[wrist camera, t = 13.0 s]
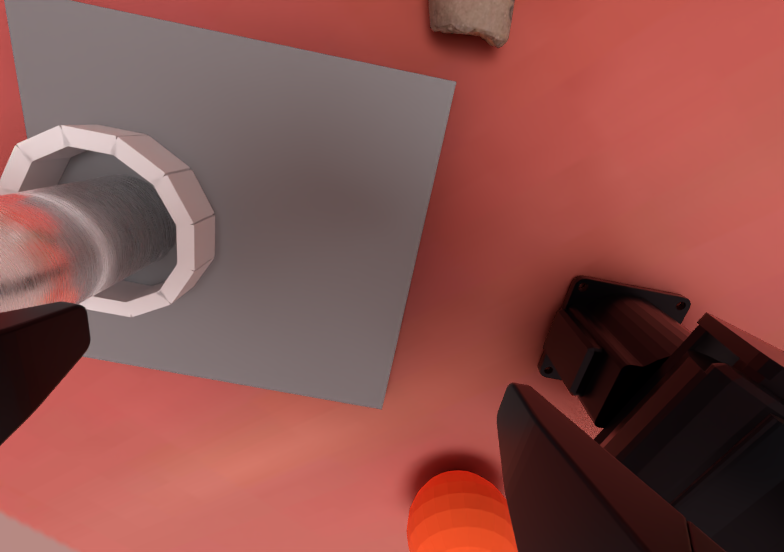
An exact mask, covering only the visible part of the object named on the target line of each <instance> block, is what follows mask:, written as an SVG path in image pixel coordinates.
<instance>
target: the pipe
mask: <svg viewBox="0 0 784 552" xmlns="http://www.w3.org/2000/svg"><path fill="white" fill-rule="evenodd" d="M514 1H515V0H429V17H430V28H431V29H432V30H433V31H434V32H436V31H441V32H442V33H451V34H453V33H456V34H467V35H474V36H481V38H482V39H485V40H486V42H487V43H488V44H489V45H491V46H495V47H497V48H500V47H502V46H503V45H504V44H505V43H506V42H507V40H508V38H509V33H510V27H511V21H512V14H513V8H514Z"/></svg>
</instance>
